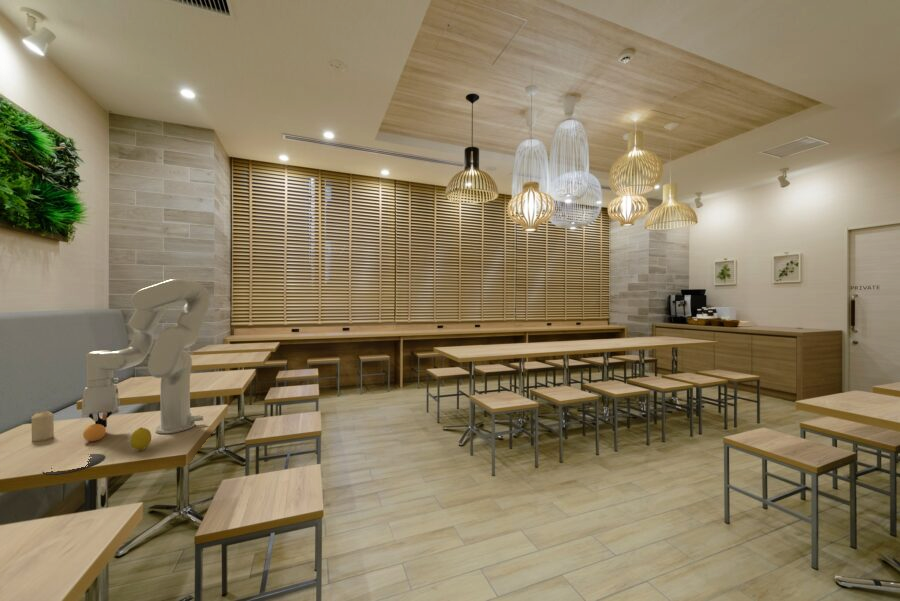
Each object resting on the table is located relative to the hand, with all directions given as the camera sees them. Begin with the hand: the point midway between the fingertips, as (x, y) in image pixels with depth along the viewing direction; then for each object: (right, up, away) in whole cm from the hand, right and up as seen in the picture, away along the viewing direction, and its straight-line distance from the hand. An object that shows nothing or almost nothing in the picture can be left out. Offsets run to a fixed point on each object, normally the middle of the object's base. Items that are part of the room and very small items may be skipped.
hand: (101, 429), depth 144 cm
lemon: (+29, -2, -16) cm, 33 cm away
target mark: (+16, -2, -26) cm, 31 cm away
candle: (-17, -2, -5) cm, 18 cm away
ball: (+5, +2, -7) cm, 9 cm away
